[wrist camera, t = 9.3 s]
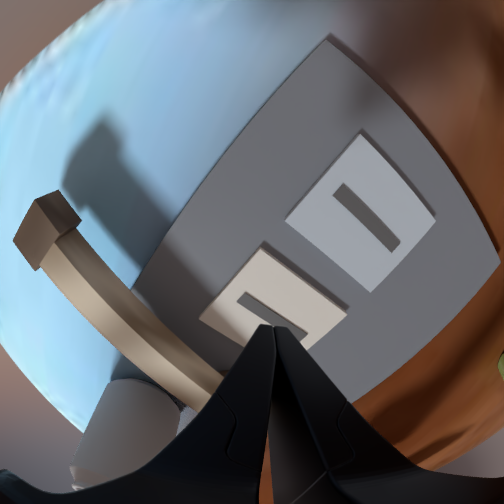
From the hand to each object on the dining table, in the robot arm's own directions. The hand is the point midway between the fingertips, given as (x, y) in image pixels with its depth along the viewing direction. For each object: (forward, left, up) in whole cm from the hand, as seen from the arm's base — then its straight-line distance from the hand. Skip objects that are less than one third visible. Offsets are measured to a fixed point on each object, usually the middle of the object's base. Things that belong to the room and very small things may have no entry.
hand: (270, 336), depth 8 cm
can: (-1, +19, -9) cm, 21 cm away
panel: (-5, +1, -9) cm, 10 cm away
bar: (+2, +8, -7) cm, 12 cm away
